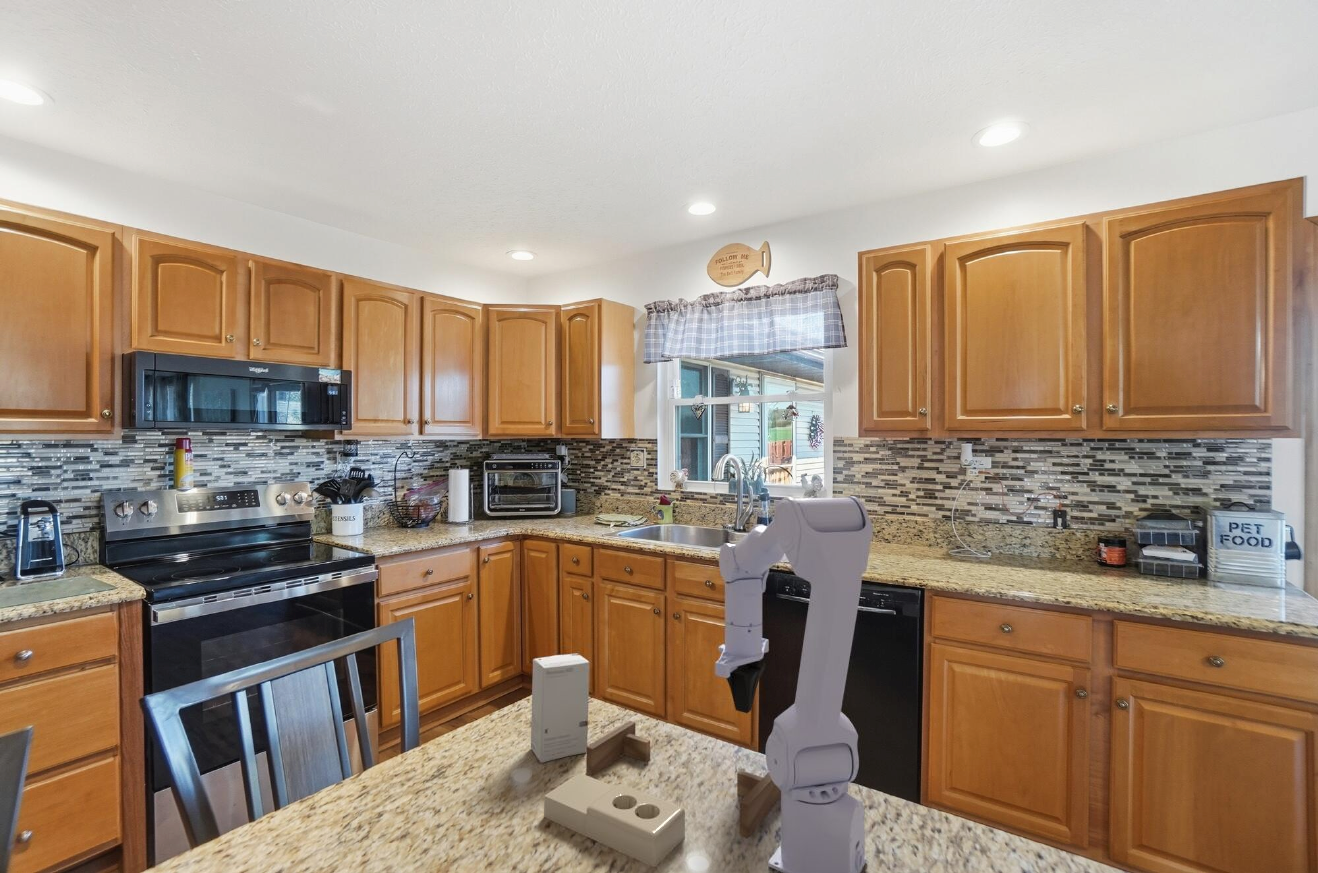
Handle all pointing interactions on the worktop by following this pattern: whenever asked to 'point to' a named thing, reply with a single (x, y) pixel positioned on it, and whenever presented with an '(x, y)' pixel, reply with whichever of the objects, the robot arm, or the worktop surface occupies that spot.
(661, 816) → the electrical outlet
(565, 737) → the skincare box
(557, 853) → the worktop surface
